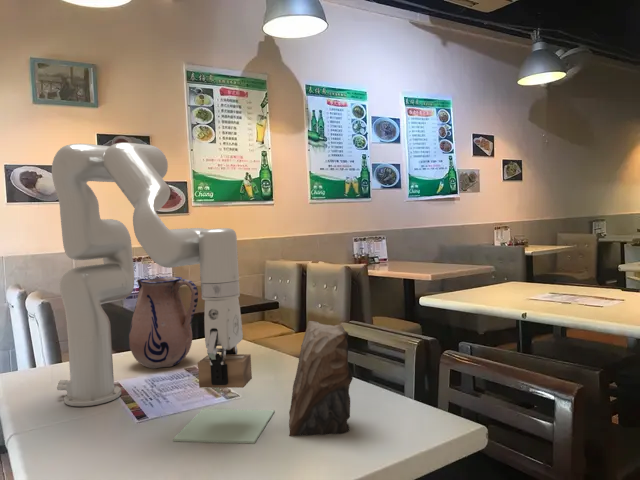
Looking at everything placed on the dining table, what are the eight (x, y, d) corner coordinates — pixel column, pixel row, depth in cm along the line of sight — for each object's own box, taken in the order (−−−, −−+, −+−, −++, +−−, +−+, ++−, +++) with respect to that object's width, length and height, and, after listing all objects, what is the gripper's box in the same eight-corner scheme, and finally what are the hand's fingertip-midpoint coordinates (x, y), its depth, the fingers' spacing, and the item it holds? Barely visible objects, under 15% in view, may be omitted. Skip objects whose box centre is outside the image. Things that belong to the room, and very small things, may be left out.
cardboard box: (243, 387, 108) (242, 361, 108) (199, 387, 109) (197, 361, 109) (251, 378, 114) (250, 353, 114) (209, 378, 115) (208, 353, 115)
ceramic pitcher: (147, 356, 170) (142, 275, 169) (213, 356, 168) (209, 273, 166) (118, 373, 153) (113, 283, 152) (192, 373, 150) (187, 281, 149)
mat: (172, 441, 105) (172, 439, 105) (203, 410, 121) (202, 409, 121) (254, 443, 103) (254, 441, 103) (274, 412, 119) (274, 410, 119)
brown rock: (302, 412, 118) (299, 319, 117) (361, 414, 115) (358, 319, 114) (286, 436, 106) (281, 332, 105) (351, 439, 103) (347, 333, 102)
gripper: (224, 296, 102) (230, 393, 102) (250, 284, 119) (254, 367, 119) (185, 297, 103) (191, 393, 104) (216, 285, 120) (221, 367, 121)
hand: (225, 378), depth 111 cm, fingers closed on cardboard box, 6 cm apart
